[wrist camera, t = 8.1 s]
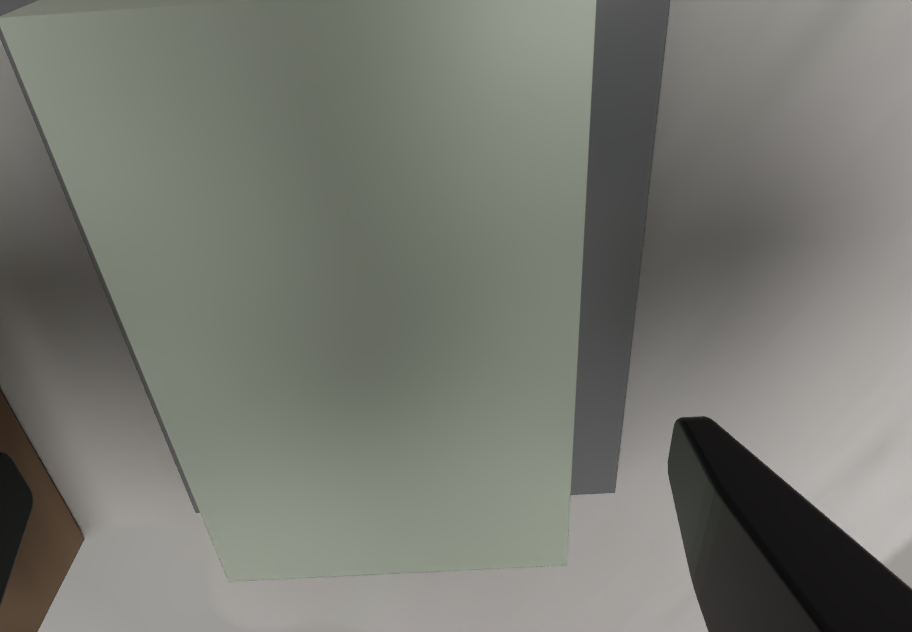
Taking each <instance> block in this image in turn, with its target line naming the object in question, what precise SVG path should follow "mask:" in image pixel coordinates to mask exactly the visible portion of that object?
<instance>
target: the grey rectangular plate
mask: <svg viewBox="0 0 912 632" xmlns="http://www.w3.org/2000/svg"><path fill="white" fill-rule="evenodd" d="M35 1H38V0H0V16H2V15H5V14H7V13H9V12H12V11H14V10H17V9H19V8H21V7H24V6H26V5H28V4H31V3H33V2H35ZM669 8H670V0H596V16H595V36H594V55H593V74H592V93H591V112H590V131H589V150H588V169H587V188H586V207H585V226H584V246H583V265H582V284H581V303H580V322H579V341H578V360H577V379H576V398H575V417H574V437H573V456H572V475H571V494H570V495H578V494H599V493H615V488H616V479H617V470H618V461H619V452H620V443H621V434H622V426H623V417H624V408H625V399H626V390H627V381H628V372H629V363H630V354H631V346H632V337H633V328H634V319H635V310H636V301H637V292H638V283H639V274H640V265H641V257H642V248H643V239H644V230H645V221H646V212H647V203H648V194H649V185H650V177H651V168H652V159H653V150H654V141H655V132H656V123H657V114H658V105H659V97H660V88H661V79H662V70H663V61H664V52H665V43H666V34H667V25H668V16H669ZM0 38H1V41H2V43H3V46H4V48H5V50H6V53H7V55H8V58H9V60H10V63H11V65H12V68H13V70H14V72H15V75H16V77H17V80H18V82H19V85H20V87H21V89H22V92H23V94H24V97H25V99H26V102H27V104H28V106H29V109H30V111H31V114H32V116H33V119H34V121H35V123H36V126H37V128H38V131H39V133H40V136H41V138H42V140H43V143H44V145H45V148H46V150H47V153H48V155H49V157H50V160H51V162H52V165H53V167H54V170H55V172H56V174H57V177H58V179H59V182H60V184H61V187H62V189H63V191H64V194H65V196H66V199H67V201H68V204H69V206H70V208H71V211H72V213H73V216H74V218H75V221H76V223H77V225H78V228H79V230H80V233H81V235H82V238H83V240H84V242H85V245H86V247H87V250H88V252H89V255H90V257H91V259H92V262H93V264H94V267H95V269H96V272H97V274H98V276H99V279H100V281H101V284H102V286H103V289H104V291H105V293H106V296H107V298H108V301H109V303H110V306H111V308H112V310H113V313H114V315H115V318H116V320H117V323H118V325H119V327H120V330H121V332H122V335H123V337H124V340H125V342H126V345H127V347H128V349H129V352H130V354H131V357H132V359H133V362H134V364H135V366H136V369H137V371H138V374H139V376H140V379H141V381H142V383H143V386H144V388H145V391H146V393H147V396H148V398H149V400H150V403H151V405H152V408H153V410H154V413H155V415H156V417H157V420H158V422H159V425H160V427H161V430H162V432H163V434H164V437H165V439H166V442H167V444H168V447H169V449H170V451H171V454H172V456H173V459H174V461H175V464H176V466H177V468H178V471H179V473H180V476H181V478H182V481H183V483H184V485H185V488H186V490H187V493H188V495H189V498H190V500H191V502H192V505H193V507H194V510H195V512H196V513H200V511H199V509H198V506H197V504H196V501H195V499H194V496H193V494H192V492H191V489H190V487H189V484H188V482H187V479H186V477H185V475H184V472H183V470H182V467H181V465H180V462H179V460H178V458H177V455H176V453H175V450H174V448H173V445H172V443H171V441H170V438H169V436H168V433H167V431H166V428H165V426H164V424H163V421H162V419H161V416H160V414H159V411H158V409H157V407H156V404H155V402H154V399H153V397H152V395H151V392H150V390H149V387H148V385H147V382H146V380H145V378H144V375H143V373H142V370H141V368H140V365H139V363H138V361H137V358H136V356H135V353H134V351H133V348H132V346H131V344H130V341H129V339H128V336H127V334H126V331H125V329H124V327H123V324H122V322H121V319H120V317H119V314H118V312H117V310H116V307H115V305H114V302H113V300H112V297H111V295H110V293H109V290H108V288H107V285H106V283H105V280H104V278H103V276H102V273H101V271H100V268H99V266H98V263H97V261H96V259H95V256H94V254H93V251H92V249H91V246H90V244H89V242H88V239H87V237H86V234H85V232H84V229H83V227H82V225H81V222H80V220H79V217H78V215H77V212H76V210H75V208H74V205H73V203H72V200H71V198H70V195H69V193H68V191H67V188H66V186H65V183H64V181H63V178H62V176H61V174H60V171H59V169H58V166H57V164H56V161H55V159H54V157H53V154H52V152H51V149H50V147H49V144H48V142H47V140H46V137H45V135H44V132H43V130H42V127H41V125H40V123H39V120H38V118H37V115H36V113H35V110H34V108H33V106H32V103H31V101H30V98H29V96H28V93H27V91H26V89H25V86H24V84H23V81H22V79H21V76H20V74H19V72H18V69H17V67H16V64H15V62H14V59H13V57H12V55H11V52H10V50H9V47H8V45H7V42H6V40H5V38H4V35H3V33H2V30H1V28H0Z"/></svg>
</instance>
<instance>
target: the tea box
mask: <svg viewBox="0 0 912 632" xmlns="http://www.w3.org/2000/svg"><path fill="white" fill-rule="evenodd" d="M0 451H2V452H6V453H7V454H9V455H10V456H11V457H12V458H13V460H14V462H15V463H16V465H17V467H18V468H19V470H20V472H21V473H22V475H23V477H24V478H25V480H26V482H27V483H28V485H29V487H30V488H31V491H32V494H33V508H32V512H31V515H30V518H29V521H28V524H27V527H26V530H25V533H24V536H23V539H22V542H21V545H20V549H19V552H18V555H17V558H16V561H15V564H14V567H13V570H12V573H11V576H10V579H9V582H8V585H7V588H6V592H5V595H4V598H3V600H2V603H1V606H0V632H38V630H39V628H40V626H41V624H42V622H43V620H44V618H45V616H46V614H47V612H48V610H49V608H50V606H51V604H52V602H53V600H54V598H55V596H56V594H57V592H58V590H59V588H60V586H61V584H62V582H63V580H64V578H65V576H66V574H67V572H68V570H69V568H70V566H71V564H72V562H73V561H74V558H75V557H76V555H77V553H78V550H79V549H80V547H81V545H82V543H83V541H84V539H85V538H84V537H83V535H82V533H81V531H80V530H79V528H78V526H77V524H76V523H75V521H74V519H73V517H72V516H71V514H70V512H69V510H68V509H67V507H66V505H65V503H64V502H63V500H62V498H61V496H60V494H59V493H58V491H57V489H56V487H55V486H54V484H53V482H52V480H51V479H50V477H49V475H48V473H47V472H46V470H45V468H44V466H43V465H42V463H41V461H40V459H39V458H38V456H37V454H36V452H35V451H34V449H33V447H32V445H31V444H30V442H29V440H28V438H27V437H26V435H25V433H24V431H23V430H22V428H21V426H20V424H19V423H18V421H17V419H16V417H15V416H14V414H13V412H12V410H11V408H10V407H9V405H8V403H7V401H6V400H5V398H4V396H3V394H2V393H1V391H0Z"/></svg>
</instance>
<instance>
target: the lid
mask: <svg viewBox="0 0 912 632" xmlns="http://www.w3.org/2000/svg"><path fill="white" fill-rule="evenodd" d="M595 16H596V0H38V1H35V2H33V3H31V4H28V5H26V6H24V7H21V8H19V9H17V10H14V11H12V12H9V13H7V14H5V15H2V16H0V28H1V30H2V33H3V35H4V38H5V40H6V42H7V45H8V47H9V50H10V52H11V55H12V57H13V59H14V62H15V64H16V67H17V69H18V72H19V74H20V76H21V79H22V81H23V84H24V86H25V89H26V91H27V93H28V96H29V98H30V101H31V103H32V106H33V108H34V110H35V113H36V115H37V118H38V120H39V123H40V125H41V127H42V130H43V132H44V135H45V137H46V140H47V142H48V144H49V147H50V149H51V152H52V154H53V157H54V159H55V161H56V164H57V166H58V169H59V171H60V174H61V176H62V178H63V181H64V183H65V186H66V188H67V191H68V193H69V195H70V198H71V200H72V203H73V205H74V208H75V210H76V212H77V215H78V217H79V220H80V222H81V225H82V227H83V229H84V232H85V234H86V237H87V239H88V242H89V244H90V246H91V249H92V251H93V254H94V256H95V259H96V261H97V263H98V266H99V268H100V271H101V273H102V276H103V278H104V280H105V283H106V285H107V288H108V290H109V293H110V295H111V297H112V300H113V302H114V305H115V307H116V310H117V312H118V314H119V317H120V319H121V322H122V324H123V327H124V329H125V331H126V334H127V336H128V339H129V341H130V344H131V346H132V348H133V351H134V353H135V356H136V358H137V361H138V363H139V365H140V368H141V370H142V373H143V375H144V378H145V380H146V382H147V385H148V387H149V390H150V392H151V395H152V397H153V399H154V402H155V404H156V407H157V409H158V411H159V414H160V416H161V419H162V421H163V424H164V426H165V428H166V431H167V433H168V436H169V438H170V441H171V443H172V445H173V448H174V450H175V453H176V455H177V458H178V460H179V462H180V465H181V467H182V470H183V472H184V475H185V477H186V479H187V482H188V484H189V487H190V489H191V492H192V494H193V496H194V499H195V501H196V504H197V506H198V509H199V511H200V513H201V516H202V518H203V521H204V523H205V526H206V528H207V530H208V533H209V535H210V538H211V540H212V543H213V545H214V547H215V550H216V552H217V555H218V557H219V560H220V562H221V564H222V567H223V569H224V572H225V574H226V577H227V579H228V581H229V582H233V581H253V580H274V579H295V578H315V577H336V576H357V575H377V574H398V573H419V572H439V571H460V570H481V569H501V568H522V567H543V566H563V565H567V551H568V532H569V513H570V494H571V475H572V456H573V437H574V417H575V398H576V379H577V360H578V341H579V322H580V303H581V284H582V265H583V246H584V226H585V207H586V188H587V169H588V150H589V131H590V112H591V93H592V74H593V55H594V36H595Z"/></svg>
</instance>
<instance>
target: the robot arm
mask: <svg viewBox="0 0 912 632" xmlns="http://www.w3.org/2000/svg"><path fill="white" fill-rule="evenodd" d="M668 475H669V480H670V485H671V489H672V494H673V499H674V503H675V508H676V512H677V517H678V521H679V526H680V530H681V535H682V539H683V544H684V549H685V553H686V558H687V562H688V567H689V571H690V575H691V579H692V583H693V587H694V590H695V593H696V596H697V599H698V602H699V605H700V608H701V611H702V614H703V617H704V620H705V623H706V626H707V629H708V631H709V632H912V589H911V588H910V587H909V586H908V585H907V584H905V583H904V582H903V581H902V580H901V579H899V578H898V577H897V576H896V575H895V574H894V573H893V572H891V571H890V570H889V569H888V568H887V567H885V566H884V565H883V564H882V563H881V562H880V561H878V560H877V559H876V558H875V557H874V556H872V555H871V554H870V553H869V552H868V551H867V550H865V549H864V548H863V547H862V546H861V545H860V544H858V543H857V542H856V541H855V540H854V539H852V538H851V537H850V536H849V535H848V534H847V533H845V532H844V531H843V530H842V529H841V528H839V527H838V526H837V525H836V524H835V523H834V522H832V521H831V520H830V519H829V518H828V517H827V516H825V515H824V514H823V513H822V512H821V511H819V510H818V509H817V508H816V507H815V506H814V505H812V504H811V503H810V502H809V501H808V500H806V499H805V498H804V497H803V496H802V495H801V494H799V493H798V492H797V491H796V490H795V489H794V488H792V487H791V486H790V485H789V484H788V483H786V482H785V481H784V480H783V479H782V478H781V477H779V476H778V475H777V474H776V473H775V472H773V471H772V470H771V469H770V468H769V467H768V466H766V465H765V464H764V463H763V462H762V461H761V460H759V459H758V458H757V457H756V456H755V455H753V454H752V453H751V452H750V451H749V450H748V449H746V448H745V447H744V446H743V445H742V444H740V443H739V442H738V441H737V440H736V439H735V438H733V437H732V436H731V435H730V434H729V433H727V432H726V431H725V430H724V429H723V428H722V427H720V426H719V425H718V424H717V423H716V422H715V421H713V420H712V419H710V418H708V417H705V416H701V417H682V418H679V419H677V420H676V422H675V424H674V429H673V434H672V440H671V446H670V452H669V458H668ZM32 508H33V494H32V491H31V488H30V487H29V485H28V483H27V482H26V480H25V478H24V477H23V475H22V473H21V472H20V470H19V468H18V467H17V465H16V463H15V462H14V460H13V458H12V457H11V456H10V455H9V454H7V453H6V452H2V451H0V606H1V603H2V600H3V598H4V595H5V592H6V588H7V585H8V582H9V579H10V576H11V573H12V570H13V567H14V564H15V561H16V558H17V555H18V552H19V549H20V545H21V542H22V539H23V536H24V533H25V530H26V527H27V524H28V521H29V518H30V515H31V512H32Z"/></svg>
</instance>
